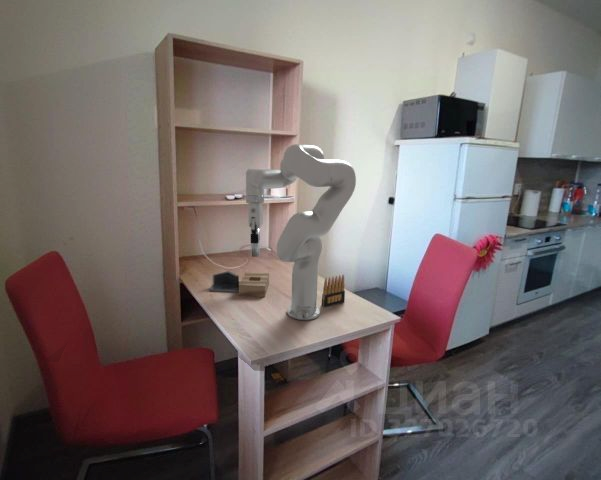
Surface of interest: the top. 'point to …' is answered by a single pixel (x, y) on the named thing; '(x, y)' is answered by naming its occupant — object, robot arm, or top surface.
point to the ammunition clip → (333, 291)
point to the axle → (255, 247)
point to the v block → (225, 282)
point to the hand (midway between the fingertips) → (255, 241)
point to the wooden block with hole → (254, 284)
